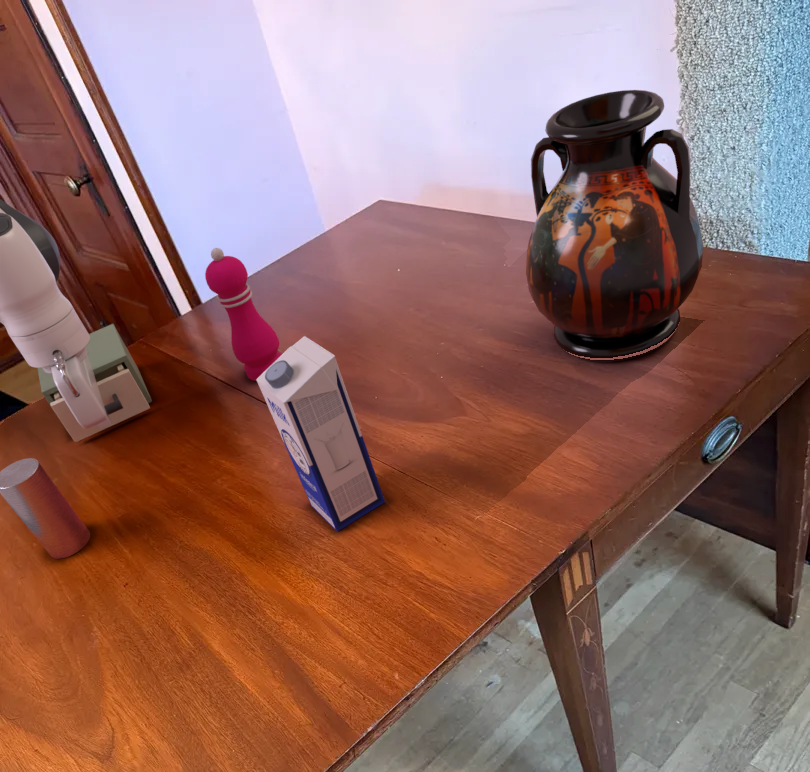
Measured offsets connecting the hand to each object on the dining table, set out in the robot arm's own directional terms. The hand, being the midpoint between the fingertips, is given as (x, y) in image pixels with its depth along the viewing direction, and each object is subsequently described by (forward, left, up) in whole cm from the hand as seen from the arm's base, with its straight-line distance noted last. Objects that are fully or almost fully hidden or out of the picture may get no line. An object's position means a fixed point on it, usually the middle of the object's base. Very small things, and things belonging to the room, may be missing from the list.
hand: (104, 422), depth 109 cm
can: (-10, -18, -4) cm, 21 cm away
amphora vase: (+67, -30, -5) cm, 74 cm away
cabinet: (0, +17, -4) cm, 17 cm away
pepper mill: (+25, +3, -5) cm, 26 cm away
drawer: (0, +10, -4) cm, 11 cm away
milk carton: (+23, -37, -5) cm, 44 cm away
